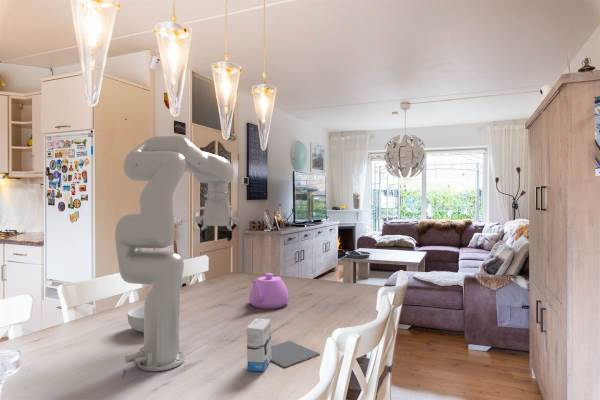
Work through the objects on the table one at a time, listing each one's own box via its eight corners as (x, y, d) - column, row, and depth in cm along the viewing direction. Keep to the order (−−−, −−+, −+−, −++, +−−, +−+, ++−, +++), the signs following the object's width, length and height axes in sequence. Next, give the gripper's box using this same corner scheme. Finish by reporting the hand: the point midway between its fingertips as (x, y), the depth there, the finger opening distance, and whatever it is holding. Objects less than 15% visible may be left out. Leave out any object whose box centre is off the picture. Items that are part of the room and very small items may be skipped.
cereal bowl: (123, 340, 127) (123, 319, 127) (131, 324, 143) (131, 305, 143) (177, 336, 131) (177, 315, 131) (179, 321, 147) (179, 302, 147)
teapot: (265, 296, 187) (266, 267, 187) (298, 301, 179) (298, 271, 179) (234, 308, 165) (234, 276, 164) (269, 315, 156) (270, 281, 156)
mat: (284, 368, 107) (284, 366, 107) (254, 352, 118) (254, 351, 118) (319, 354, 117) (319, 353, 117) (289, 341, 127) (289, 340, 127)
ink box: (264, 372, 104) (263, 329, 104) (246, 370, 105) (245, 328, 105) (272, 358, 113) (271, 318, 112) (256, 357, 114) (255, 317, 113)
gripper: (193, 196, 148) (192, 241, 148) (237, 197, 147) (236, 242, 147) (199, 196, 156) (198, 239, 156) (241, 197, 155) (240, 240, 155)
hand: (217, 240), depth 151 cm, fingers open, 9 cm apart
